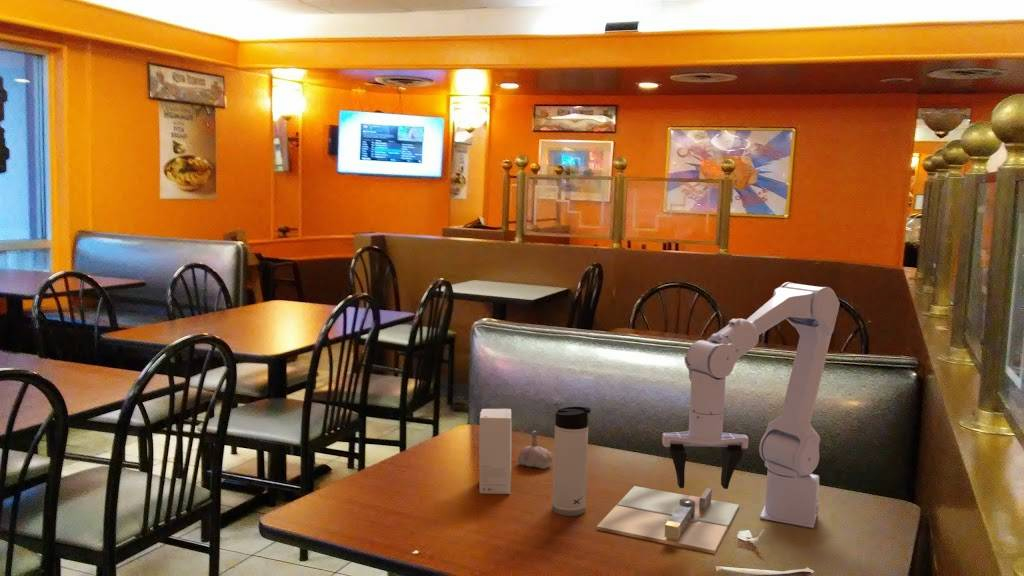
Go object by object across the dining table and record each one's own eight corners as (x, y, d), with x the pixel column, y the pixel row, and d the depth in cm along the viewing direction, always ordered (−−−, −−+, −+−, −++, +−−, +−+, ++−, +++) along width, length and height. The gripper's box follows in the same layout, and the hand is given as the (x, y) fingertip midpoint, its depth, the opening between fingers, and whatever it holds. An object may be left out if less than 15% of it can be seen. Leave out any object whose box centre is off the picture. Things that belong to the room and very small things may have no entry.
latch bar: (681, 511, 153) (681, 497, 153) (696, 513, 152) (696, 500, 151) (662, 536, 141) (663, 522, 141) (678, 540, 140) (679, 525, 140)
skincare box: (510, 495, 162) (511, 418, 160) (476, 494, 162) (478, 418, 160) (511, 480, 170) (512, 407, 169) (479, 479, 170) (480, 406, 169)
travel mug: (585, 518, 151) (588, 413, 149) (550, 514, 153) (553, 410, 150) (588, 505, 157) (592, 404, 155) (555, 502, 159) (558, 402, 156)
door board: (738, 507, 158) (739, 490, 158) (714, 553, 138) (715, 534, 137) (634, 488, 167) (634, 472, 167) (596, 529, 146) (597, 511, 146)
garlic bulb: (511, 464, 181) (512, 429, 180) (537, 458, 185) (538, 424, 184) (532, 474, 175) (533, 438, 174) (558, 468, 179) (559, 432, 178)
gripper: (741, 405, 145) (737, 479, 147) (660, 403, 145) (656, 477, 146) (753, 416, 138) (749, 493, 140) (668, 414, 138) (664, 492, 139)
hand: (702, 486), depth 143 cm, fingers open, 7 cm apart
